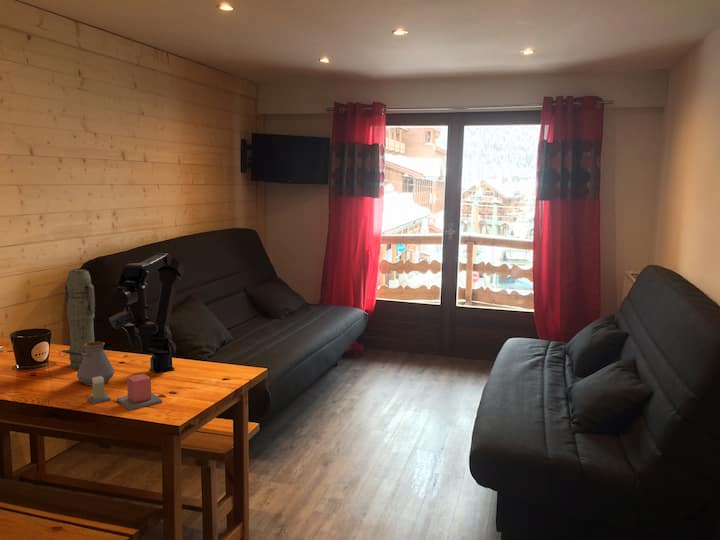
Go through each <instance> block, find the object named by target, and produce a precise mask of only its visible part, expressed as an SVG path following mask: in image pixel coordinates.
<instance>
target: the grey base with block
mask: <svg viewBox="0 0 720 540" xmlns="http://www.w3.org/2000/svg"><path fill="white" fill-rule="evenodd" d="M91 386H92V395H91V396H87V400H88V401H89V402H90V403H91V404H92V405H95V404H99V403H104V402H109V401H111V397H110V396H109V395H107V394H106V393H105V383H104V378H103V377H102V376H98V377H93V378H92V385H91Z"/></svg>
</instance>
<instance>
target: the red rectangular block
mask: <svg viewBox="0 0 720 540" xmlns="http://www.w3.org/2000/svg"><path fill="white" fill-rule="evenodd" d="M151 381H152V379H151V377H150V376H148V375H147V374H145V373H141V374H136V375H131V376H126V387H127V389H126V390H127V396H128V399H130V400H131V401H133V402H134V403H136V402H140V401H144V400H148V399H151V393H152V382H151Z"/></svg>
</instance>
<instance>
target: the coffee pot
mask: <svg viewBox="0 0 720 540" xmlns="http://www.w3.org/2000/svg"><path fill="white" fill-rule="evenodd" d="M105 344H106V343H105V342H104V341H94V342H89V343H85V344H84V347H85V348H86V353H80V352H76V351H69V349H67V350H66V349H62V351H61V350H60V352H59V353H58V355H59V356H60V357H61V358H64V357H66V355H69V354H71V355H82V356H84V358H83V360H82V363H81V365H80V368H79V369H77V372H76V373H77V374H76V377H77V380H79V381H80V382H82V383H83V384H84V385H86V386H87V385H88V386H92V378H93V377H98V376H102V377H103V378H104V384H105V383H107V382H109V380H111V379H112V377H113V376H114V374H115V368H114V367H113V365H112V364H111V361H110V360H109V358H108V356H107V354H106V352H105V350H104V346H105ZM61 353H64V355H63V356H62V355H60V354H61Z"/></svg>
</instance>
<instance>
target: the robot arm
mask: <svg viewBox="0 0 720 540" xmlns="http://www.w3.org/2000/svg"><path fill="white" fill-rule="evenodd" d="M154 272H156V273H158V279H159V281H160V282H159V283H160V284H161V287H160V293H159V299H158V304H157V309H156V315H155V320H154V322H153V321H150V318H149V317H147V313H148V311H147V310H149V305H147V294H146V293H147V292H146V291H147V290H146V288H148V287H149V284H148V283H147V281H148V280H149V279H150V278H151V274H153V273H154ZM184 275H185V267H184V266H183V264H182V263H181V261H179V260H177V259H176V258H174V257H172V256H171V254H169V253H164V252H163V253H162V252H161V253H159V252H157V253H155V254H154V255H153V256H151V257H148V258H147V259H145V260H142V261H141V262H138V263H137V262H133V263H127V264H125V265H124V267H123V268H122V271H121V273H120V276H119V279H118V282H117V287H115V288H116V290H115V291H114V292H113V293H112V294H111V297H110V303H111V304H112V306H113V307H114V308H115V309H118V310H123V309H124V310H123V311H121V312H117V313H116V314H113V315H112V316H110V317H108V321H109V323H110V324H111V327H112V328H114V329H116V330H119V329H121V328H122V329H124V330H125V331H126V334H127V337H128V340H129V343H130V345H131V347H135V346H136V344H137V340H138V338H139V343H140V348H141V352H142V353H147V355H148V354H149V355H150V354H151V357H150V359H149V361H150V362H149V363H150V367H149V369H150V370H151V371H153V372H155V373H157V374H159V373H164V372H169V371H174V370H175V367H173V355H174V354H176V352H177V345H176V343H175V342H174V341H173V339H172V338H173V334H172V332H171V329H170V322H171V317H172V310H173V306H174V300H175V293H176V289H177V287H178V286H179V285H180V284H181V282H183V281H182V280H183V277H184Z"/></svg>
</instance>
